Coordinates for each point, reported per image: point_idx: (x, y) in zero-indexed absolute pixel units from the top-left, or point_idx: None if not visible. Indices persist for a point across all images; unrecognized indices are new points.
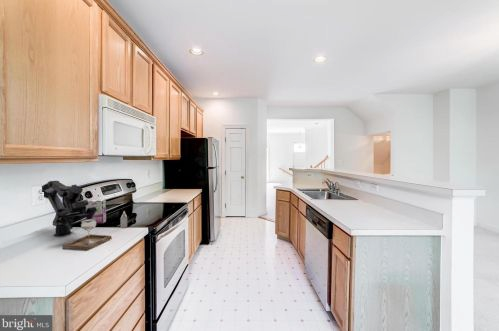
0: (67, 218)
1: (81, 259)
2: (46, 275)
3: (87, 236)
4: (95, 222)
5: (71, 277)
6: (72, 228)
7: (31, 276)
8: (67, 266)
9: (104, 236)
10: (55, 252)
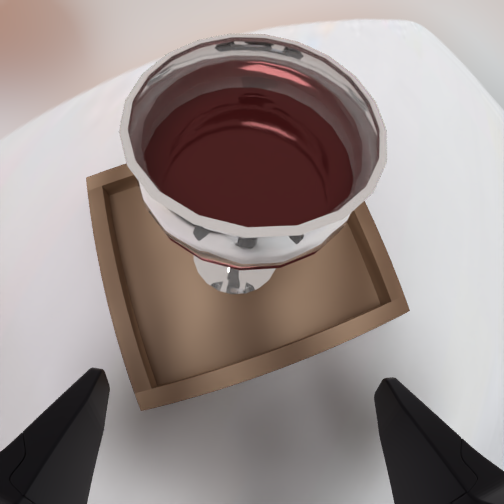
0: (502, 496)
1: (367, 75)
2: (459, 85)
3: (180, 380)
4: (184, 80)
5: (408, 27)
6: (379, 385)
7: (488, 118)
8: (414, 76)
9: (109, 224)
10: (433, 285)
